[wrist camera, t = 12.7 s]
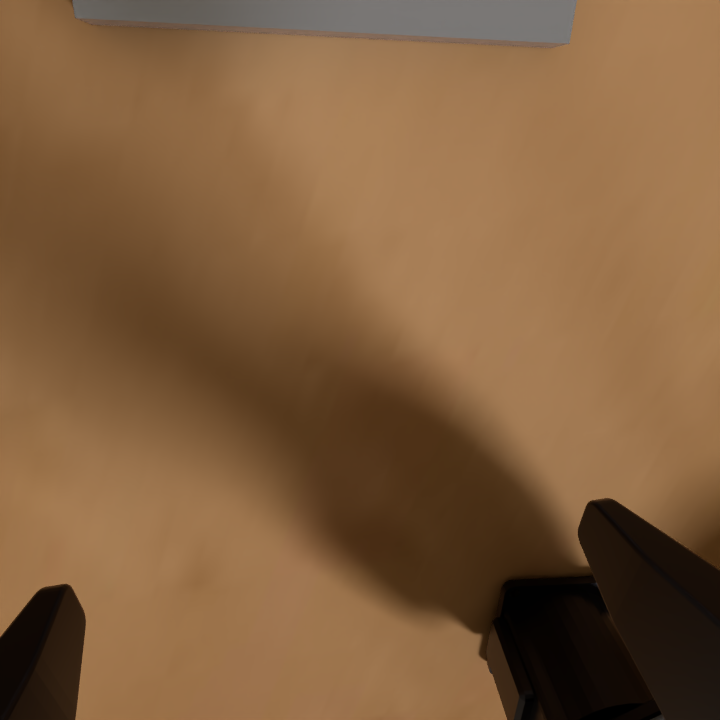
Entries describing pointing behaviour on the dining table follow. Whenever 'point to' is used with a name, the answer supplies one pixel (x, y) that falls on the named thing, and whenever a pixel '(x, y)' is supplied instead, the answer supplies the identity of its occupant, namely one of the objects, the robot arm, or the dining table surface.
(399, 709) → the dining table surface
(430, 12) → the slate trivet
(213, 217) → the dining table surface
